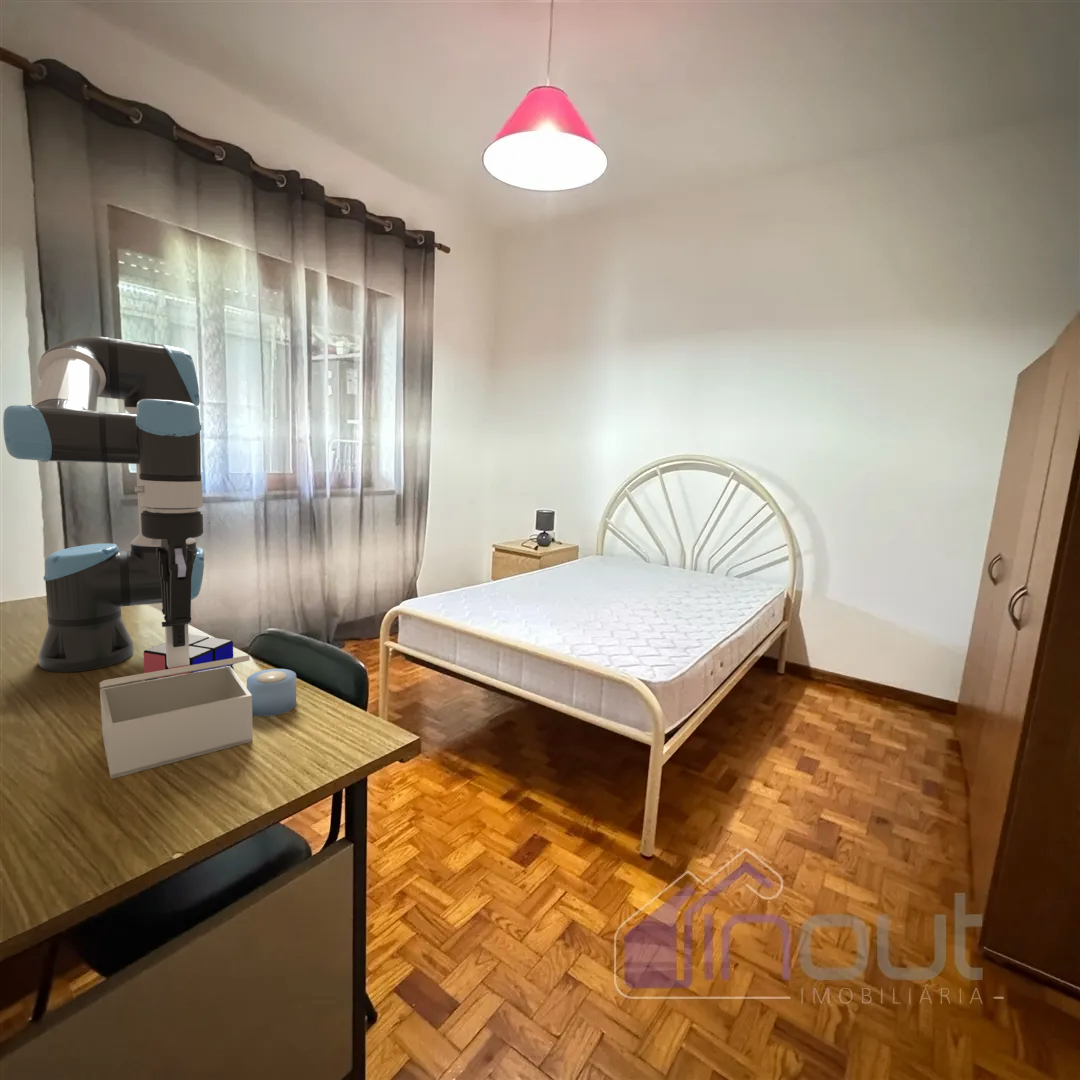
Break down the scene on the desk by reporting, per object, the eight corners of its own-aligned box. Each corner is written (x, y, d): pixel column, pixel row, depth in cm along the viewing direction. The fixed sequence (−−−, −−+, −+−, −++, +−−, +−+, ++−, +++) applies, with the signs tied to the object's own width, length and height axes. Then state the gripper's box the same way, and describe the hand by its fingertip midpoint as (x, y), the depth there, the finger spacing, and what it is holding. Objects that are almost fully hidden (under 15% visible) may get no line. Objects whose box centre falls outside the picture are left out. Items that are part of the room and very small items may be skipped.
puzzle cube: (193, 713, 97) (191, 658, 95) (144, 704, 98) (141, 650, 97) (235, 690, 106) (234, 640, 105) (189, 682, 108) (188, 633, 107)
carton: (102, 736, 88) (99, 689, 86) (230, 707, 99) (230, 665, 98) (110, 779, 77) (107, 726, 76) (252, 741, 89) (252, 695, 88)
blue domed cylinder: (241, 703, 101) (241, 673, 100) (288, 692, 107) (288, 664, 106) (254, 721, 95) (253, 689, 95) (302, 709, 101) (302, 679, 100)
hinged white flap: (99, 688, 86) (99, 682, 86) (230, 664, 98) (229, 660, 98) (104, 686, 76) (104, 680, 76) (249, 660, 88) (249, 655, 88)
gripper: (135, 505, 83) (142, 656, 87) (147, 515, 74) (154, 685, 77) (193, 504, 88) (198, 647, 92) (211, 514, 79) (216, 673, 82)
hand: (178, 664), depth 84 cm, fingers closed
